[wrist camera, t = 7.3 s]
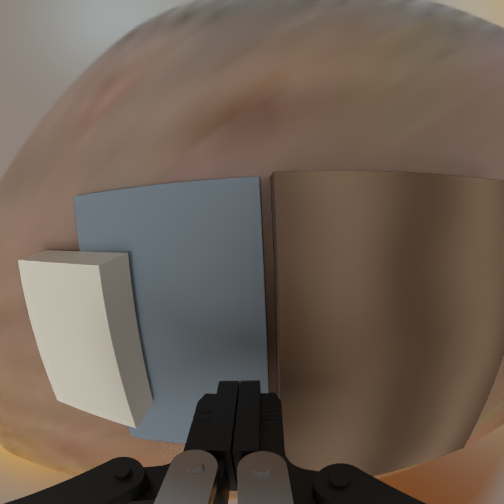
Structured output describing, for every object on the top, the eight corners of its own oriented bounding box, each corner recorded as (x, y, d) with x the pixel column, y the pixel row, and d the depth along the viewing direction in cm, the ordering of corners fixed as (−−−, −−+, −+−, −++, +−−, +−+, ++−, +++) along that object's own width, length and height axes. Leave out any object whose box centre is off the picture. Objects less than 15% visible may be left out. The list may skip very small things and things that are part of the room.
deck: (480, 181, 13) (527, 184, 9) (440, 413, 16) (463, 447, 12) (270, 176, 13) (273, 171, 10) (277, 441, 17) (279, 488, 13)
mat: (258, 176, 13) (259, 176, 13) (270, 441, 17) (270, 445, 16) (77, 196, 14) (73, 196, 13) (133, 433, 17) (131, 436, 17)
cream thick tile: (17, 259, 12) (46, 250, 14) (57, 400, 14) (77, 381, 16) (98, 265, 11) (127, 252, 14) (136, 428, 13) (153, 402, 15)
